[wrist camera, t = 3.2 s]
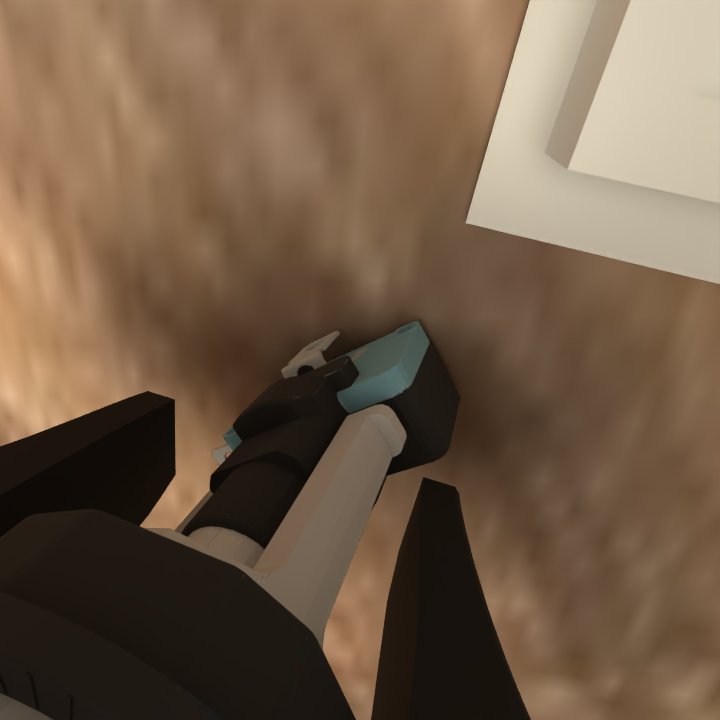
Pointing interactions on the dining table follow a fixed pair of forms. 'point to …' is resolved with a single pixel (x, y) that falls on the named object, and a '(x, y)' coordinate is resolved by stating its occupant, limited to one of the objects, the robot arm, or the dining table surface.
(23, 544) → the push button
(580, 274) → the dining table surface
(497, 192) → the dock
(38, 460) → the robot arm
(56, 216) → the dining table surface
